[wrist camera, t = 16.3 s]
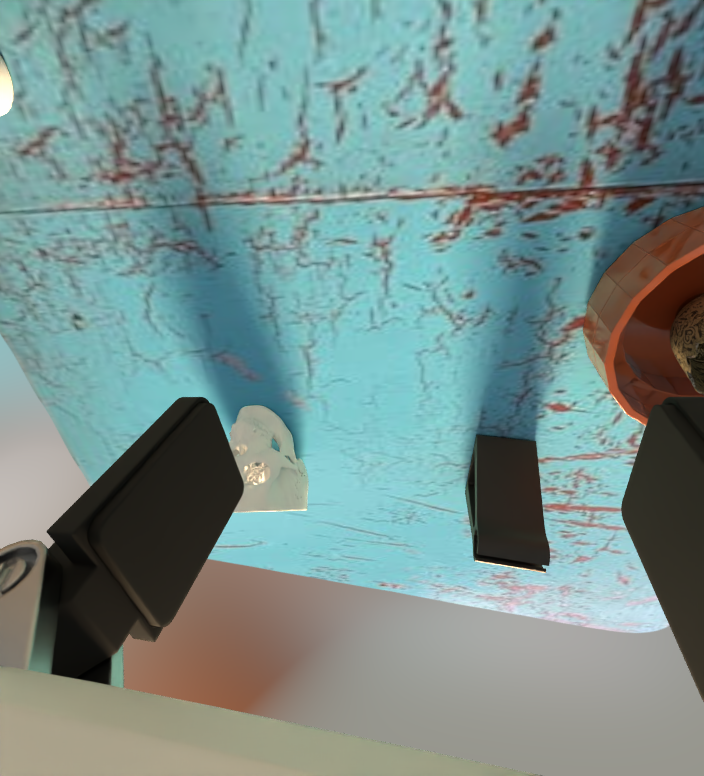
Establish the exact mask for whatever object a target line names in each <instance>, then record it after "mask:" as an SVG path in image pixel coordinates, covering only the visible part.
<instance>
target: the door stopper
mask: <svg viewBox="0 0 704 776" xmlns="http://www.w3.org/2000/svg"><path fill="white" fill-rule="evenodd" d="M465 495H466V501H467V508H468V514H469V520H470V526H471V532H472V540H473V557H474V561H477V562H483V563H489V564H495V565H501V566H507V567H513V568H519V569H525V570H531V571H537V572H543V573H546V569H544V568H543V567H542V565H546V566H549V562H550V550H549V544H548V540H547V537H546V533H545V527H544V517H543V507H542V497H541V487H540V477H539V467H538V457H537V447H536V441H528V440H520V439H511V438H502V437H493V436H484V435H476V439H475V444H474V449H473V454H472V460H471V465H470V470H469V475H468V480H467V485H466V490H465Z"/></svg>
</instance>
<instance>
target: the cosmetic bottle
mask: <svg viewBox="0 0 704 776" xmlns="http://www.w3.org/2000/svg"><path fill="white" fill-rule="evenodd" d="M12 102H13V85H12V80H11V77H10V74H9V71H8V69H7V66H6V64H5V62H4V60H3V59H2V57H1V55H0V116H3V115H4V114H6V113H7V112H8V111H9V109H10V108H11V106H12Z"/></svg>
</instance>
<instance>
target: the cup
mask: <svg viewBox="0 0 704 776" xmlns="http://www.w3.org/2000/svg"><path fill="white" fill-rule="evenodd" d="M670 344H671V348H672V350H673V353H674V355H675V357H676V359H677V361H678V362H679V364H680V366H681V367H682V369H683V370H684V372H685V374H686V375H687V377H688V378H689V380H690V381H691V383H692V385H693V387H694V389H695V390H696V391H697V392H698V393H700V394H703V395H704V292H703V293H699V294H696V295H694V296H692V297H690V298H688V299H687V300H685V301H684V302H683V303H682V304H681V305H680V306H679V308H678V309H677V311H676V314H675V319H674V321H673V323H672V326H671V330H670Z"/></svg>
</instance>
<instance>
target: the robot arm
mask: <svg viewBox="0 0 704 776" xmlns="http://www.w3.org/2000/svg"><path fill="white" fill-rule="evenodd" d="M243 492H244V482H243V479H242V476H241V474H240V471H239V468H238V466H237V463H236V461H235V458H234V455H233V453H232V450H231V448H230V445H229V442H228V440H227V437H226V435H225V432H224V429H223V427H222V424H221V421H220V419H219V416H218V414H217V411H216V408H215V407H214V405H213V404H211V403H209V401H208V400H207V399H206V398H203V397H182V398H179V399H178V400H176V401H175V402H174V403H173V404H172V405H171V406H170V407H169V408H168V409H167V410H166V411H165V412H164V413H163V414H162V415H161V416H160V417H159V418H158V419H157V420H156V421H155V423H154V424H153V425H152V426H151V427H150V428H149V429H148V430H147V431H146V432H145V433H144V434H143V435H142V436H141V437H140V438H139V439H138V440H137V441H136V442H135V443H134V444H133V445H132V446H131V447H130V448H129V449H128V450H127V451H126V452H125V453H124V454H123V455H122V456H121V457H120V458H119V459H118V460H117V461H116V462H115V463H114V464H113V465H112V466H111V467H110V468H109V469H108V470H107V471H106V472H105V473H104V474H103V475H102V476H101V477H100V478H99V479H98V480H97V481H96V482H95V483H94V484H93V485H92V486H91V487H90V488H89V489H88V490H87V491H86V492H85V493H84V494H83V495H82V496H81V497H80V498H79V499H78V500H77V501H76V502H75V503H74V504H73V505H72V506H71V507H70V508H69V509H68V510H67V511H66V512H65V513H64V514H63V515H62V516H61V517H60V518H59V519H58V520H57V521H56V522H55V523H54V524H53V525H52V526H51V527H50V528H49V529H48V530H47V533H48V534H49V535H50V537H51V538H52V539H53V540H54V541H55V543H54V544H53V545H52V546H51V547H50V548H49V549H48V548H47V547H46V546H45V545H44V544H43V543H42V542H41V541H37V540H24V541H19V542H16V543H13V544H10V545H8V546H6V547H4V548H2V549H0V776H541V775H536V774H531V773H527V772H522V771H518V770H513V769H508V768H504V767H499V766H494V765H490V764H485V763H480V762H476V761H471V760H466V759H462V758H457V757H452V756H448V755H443V754H438V753H433V752H429V751H424V750H420V749H414V748H410V747H405V746H401V745H396V744H391V743H386V742H381V741H376V740H372V739H367V738H362V737H357V736H353V735H348V734H343V733H338V732H333V731H329V730H324V729H319V728H315V727H310V726H305V725H300V724H295V723H290V722H286V721H281V720H276V719H272V718H266V717H262V716H257V715H252V714H247V713H242V712H237V711H233V710H228V709H223V708H219V707H214V706H208V705H204V704H199V703H194V702H189V701H184V700H179V699H174V698H170V697H164V696H160V695H154V694H150V693H145V692H140V691H135V690H130V689H125V688H124V665H123V642H124V641H125V639H126V638H127V636H128V635H129V634H130V635H131V636H132V637H133V638H134V639H140V640H145V641H151V642H155V641H156V640H157V638H158V636H159V634H160V633H161V631H162V629H163V627H166V626H167V625H169V624H170V623H171V622H172V620H173V619H174V617H175V615H176V613H177V612H178V610H179V608H180V606H181V604H182V603H183V601H184V599H185V597H186V596H187V594H188V592H189V590H190V588H191V587H192V585H193V583H194V581H195V579H196V578H197V576H198V574H199V572H200V570H201V569H202V567H203V565H204V563H205V562H206V560H207V558H208V556H209V554H210V553H211V551H212V549H213V547H214V545H215V544H216V542H217V540H218V538H219V537H220V535H221V533H222V531H223V529H224V528H225V526H226V524H227V522H228V520H229V519H230V517H231V515H232V513H233V512H234V510H235V508H236V506H237V504H238V503H239V501H240V499H241V497H242V495H243ZM621 510H622V517H623V520H624V523H625V525H626V528H627V530H628V532H629V534H630V537H631V539H632V541H633V543H634V546H635V548H636V550H637V552H638V555H639V557H640V559H641V562H642V564H643V566H644V568H645V571H646V573H647V575H648V577H649V580H650V582H651V584H652V586H653V589H654V591H655V593H656V596H657V598H658V600H659V602H660V605H661V607H662V609H663V611H664V614H665V616H666V618H667V620H668V623H669V625H670V627H671V629H672V632H673V634H674V636H675V639H676V641H677V643H678V645H679V648H680V650H681V652H682V654H683V657H684V659H685V661H686V663H687V666H688V668H689V670H690V672H691V675H692V677H693V679H694V682H695V684H696V686H697V688H698V690H699V693H700V695H701V697H702V700H703V701H704V397H668V398H666V399H665V400H664V401H663V403H662V405H654V406H653V408H652V409H651V412H650V415H649V418H648V421H647V424H646V428H645V431H644V434H643V437H642V440H641V444H640V447H639V450H638V453H637V456H636V459H635V463H634V466H633V469H632V472H631V475H630V479H629V482H628V485H627V488H626V491H625V495H624V498H623V501H622V508H621Z"/></svg>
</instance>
